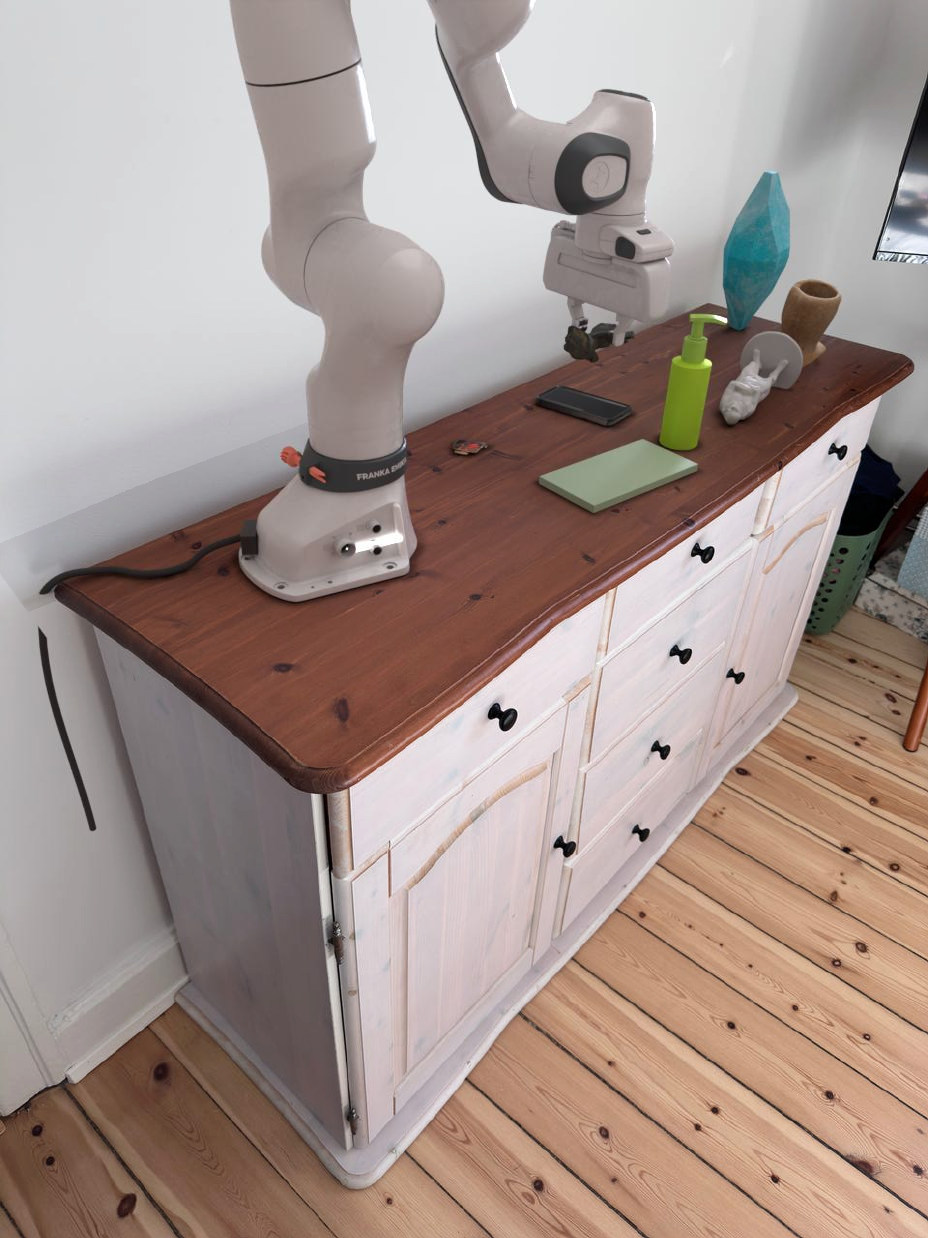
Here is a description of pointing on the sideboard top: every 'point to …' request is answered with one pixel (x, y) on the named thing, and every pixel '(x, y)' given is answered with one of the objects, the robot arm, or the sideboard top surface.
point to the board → (617, 475)
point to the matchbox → (467, 446)
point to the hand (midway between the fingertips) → (597, 337)
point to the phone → (584, 405)
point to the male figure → (761, 373)
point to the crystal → (756, 250)
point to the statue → (590, 341)
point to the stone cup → (809, 315)
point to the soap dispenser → (688, 388)
